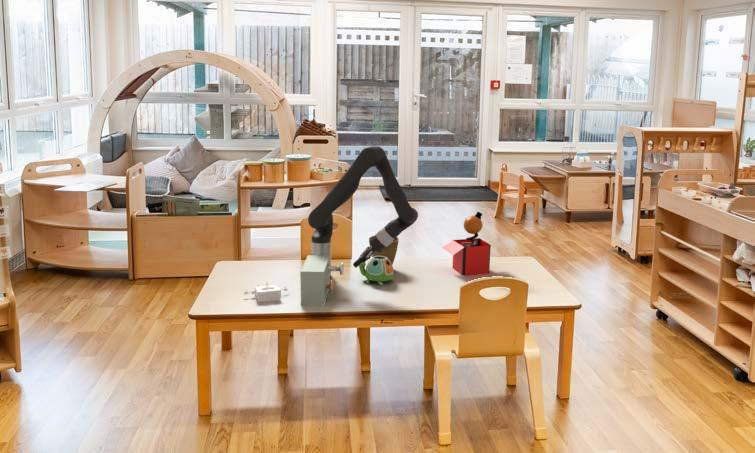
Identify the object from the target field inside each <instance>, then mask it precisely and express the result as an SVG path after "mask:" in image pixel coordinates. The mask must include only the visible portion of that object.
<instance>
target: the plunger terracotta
mask: <svg viewBox="0 0 755 453" xmlns="http://www.w3.org/2000/svg"><path fill="white" fill-rule="evenodd" d="M334 281H335V280H334V279H330V283H325V289H329V293H332V294H333V293H334V292H335V291H334V290H335V288H334V287H335V285H334V284H335V283H334Z"/></svg>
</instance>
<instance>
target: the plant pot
mask: <svg viewBox="0 0 755 453" xmlns="http://www.w3.org/2000/svg"><path fill="white" fill-rule="evenodd" d="M374 236H375V235H372V236H370V237H368V241H369V240H370V239H371V238H372V237H374ZM399 239H400V238H399V237H398V236H397V237H396V238H395V239H394V240H393V241H392V243H391V244H390V245H388V246H387V247H386V248H385V249H384V250H383V251H382V252H381V253H379V252H377V251H375V252H374V255H373V256H371V258H372V257H374V256H384V257H387V258H388V259H389V261H390V262H391V264H392V266H393V264H394V262H395V259H396V255H397V252H398V248H399V247H398V246H399ZM368 243H369V242H368ZM370 246H371V245H370V243H369V247H370Z"/></svg>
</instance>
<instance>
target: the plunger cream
mask: <svg viewBox="0 0 755 453" xmlns="http://www.w3.org/2000/svg"><path fill="white" fill-rule="evenodd" d="M344 270H345V269H344V262H341V261H340V264H339V265H331V266H328V271H331V272H339V275H340V276H342V275H343V276H344Z"/></svg>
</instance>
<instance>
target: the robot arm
mask: <svg viewBox="0 0 755 453" xmlns="http://www.w3.org/2000/svg"><path fill="white" fill-rule="evenodd" d="M372 167H374V168H375V169H377V171H378V172H379V174H380V175H381V178H382V181H383V186H384V191H385V193H386V195H387V197H388V199H389V200H390V201H391V204H392V205H393V206H394V209H395V212H396V214H397V217H396V218H395V219H392V220H390V221H389V222H388V223H387V224H385V226H384V227H382V228H381V229H380V230H378V232H377V233H376V234H374V235H373V236H374V237H372V238H371V239H370V240H369V239H368V243H370V245H371V246H370V245H369V246H367V247H366V248H365V249H364V251H362V252H361V254H360V255H359V257H358V258H357V259H356V260H355V261H354V262H353V263H352V266H353V267H354V268H359V265H360V264H361V263H364V262H365V263H366V262H367V261H369V260H370V259H372V256H373V255H374V252H375V251H377V252H379V253H381V252H382V251H383V250H384V249H385V248H386V247H387V246H388V245H390V244H391V243H392V241H393V240H394V239H395V238H396V237H397V238H398V237H399V235H400V234H402V233H403V232H404V231H405V230H406V229H408V228H409V227H411V226H412V225H413V224H414V223H415V222H416V221H417V220H418V217H419V213H418V210H417V209H415V208H413V207H412V206H411V205H410V203H409V201H408V197H407V195H406V193H405V192H404V190H403V188H402V186H401V184H400V183H399V181H398V179H397V177H396V175H395V173H394V170H393V169H392V168H393V167H392V166H391V163H390V161H389V159H388V156H387V154H386V152H385V150H384V149H383V148H382V147H381V146H377V145H376V146H375V145H370V146H366V147H364V148H362V150H361V151H360V152H359V154H358V155H357V156H356V158H355V159H354V161H353V163H352V164H351V165H350V167H349V168H348V169H347V170H346V172H345V173H344V174H343V175H342V176H341V177H340V178H339V179H338V181H337V182H336V183H335V184H334V186H333V187H332V188H331V189H330V191H329V192H328V193H327V195H326V196H324V199H323V200H322V201H321V202H320V203H319V204H318V205H317V206H316V207H314V209H312V211H311V212H309V215H308V218H307V222H308V224H309V226H310V227H311V228H312V229H315V230H314V232H313V233H312V235H311V255H321V256H330V266H332V237H333V229H334V216H333V213H334V212H335V211H337V210H338V209H339V208H340V207H341V206H342V205H344V204H345V203H346V202H348V201H349V200H350V199H351V197H352V196H353V195H354V194H355V193H356V192H357V190H358V188H359V186H360V182H361V179H362V177H363V176H364V175H365V174H366V172H368V170H370V168H372ZM331 276H332V271H330V277H331Z"/></svg>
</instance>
